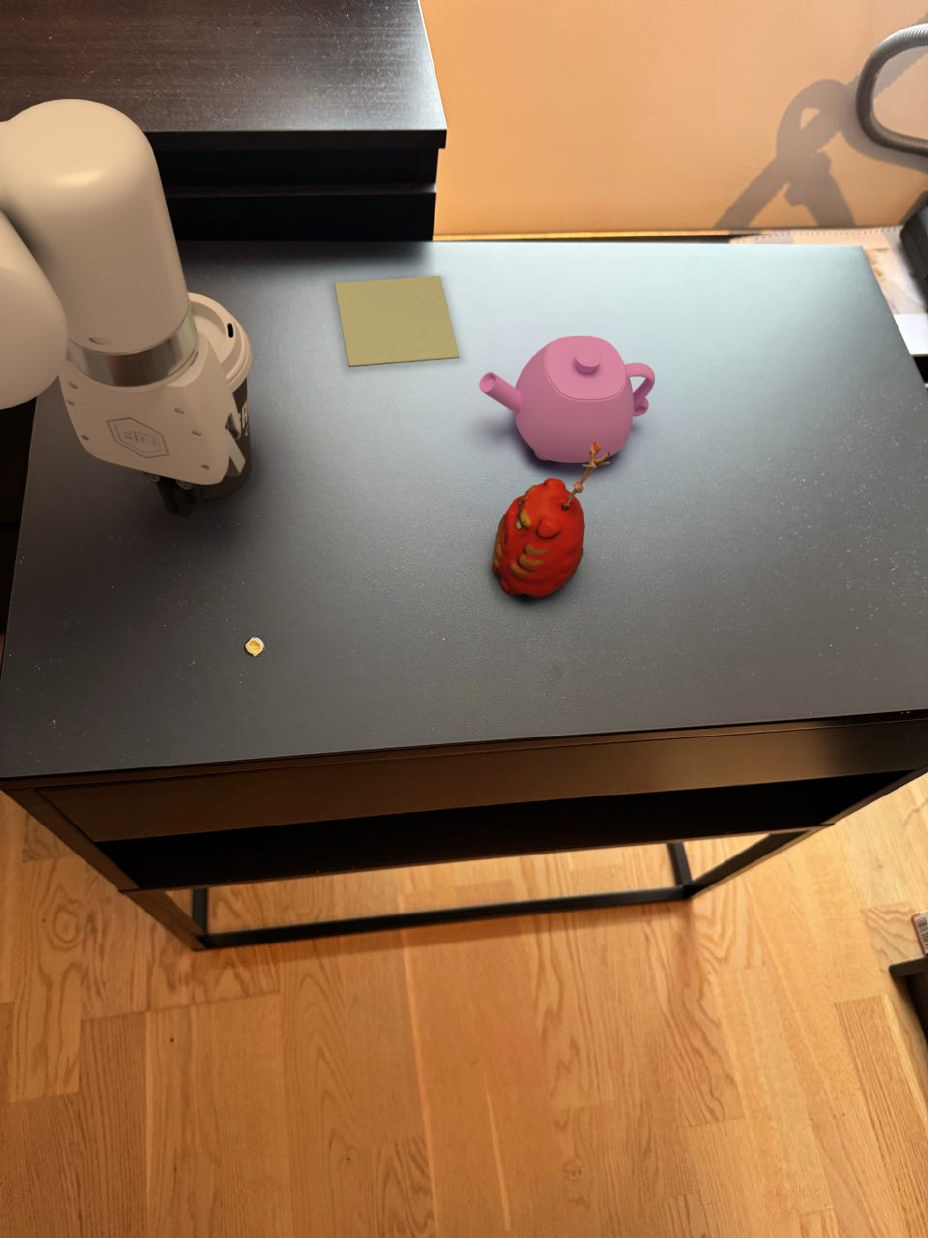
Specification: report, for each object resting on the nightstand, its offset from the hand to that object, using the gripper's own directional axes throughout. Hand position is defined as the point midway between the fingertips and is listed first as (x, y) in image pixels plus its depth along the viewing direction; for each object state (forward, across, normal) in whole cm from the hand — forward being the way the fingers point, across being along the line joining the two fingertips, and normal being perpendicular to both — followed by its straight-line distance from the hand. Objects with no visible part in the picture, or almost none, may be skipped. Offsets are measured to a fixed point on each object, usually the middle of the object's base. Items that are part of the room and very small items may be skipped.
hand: (186, 500), depth 70 cm
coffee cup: (+3, 0, +5) cm, 6 cm away
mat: (+3, +10, +25) cm, 27 cm away
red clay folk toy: (+3, +27, +4) cm, 28 cm away
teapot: (+3, +26, +18) cm, 32 cm away
